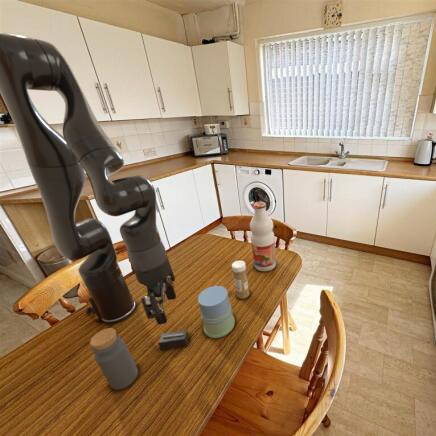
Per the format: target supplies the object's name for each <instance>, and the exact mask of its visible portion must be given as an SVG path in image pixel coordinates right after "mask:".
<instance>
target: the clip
mask: <svg viewBox="0 0 436 436" xmlns="http://www.w3.org/2000/svg"><path fill="white" fill-rule="evenodd" d="M189 339H190V335H189V331H188V329H187V330H186V329H184V330H178V331H171V332H165V333H161V335H160V337H159V339H158V343H157V344H158V346H159V348H160V351H162V350H167V349H173V348H181V347H186V346H188V342H189Z"/></svg>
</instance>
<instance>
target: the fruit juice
mask: <svg viewBox="0 0 436 436" xmlns="http://www.w3.org/2000/svg"><path fill="white" fill-rule="evenodd" d="M252 208H253V215H252V218H251V220H250V222H249V229H250V233H251V234H250V243H251V250H252V251H251V252H252V258H253V259H252V260H253V265H254V268H255V269H256V270H257V271H259V272H269V271H272V270H273V269H275V267H276V265H277V253H276V239H275V233H274V231H273V229H274V222H273V220H272V218H271V217H270V216H269V215H268V212H267V203H266V202H264V201H256V202H254V203H253V204H252Z"/></svg>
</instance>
